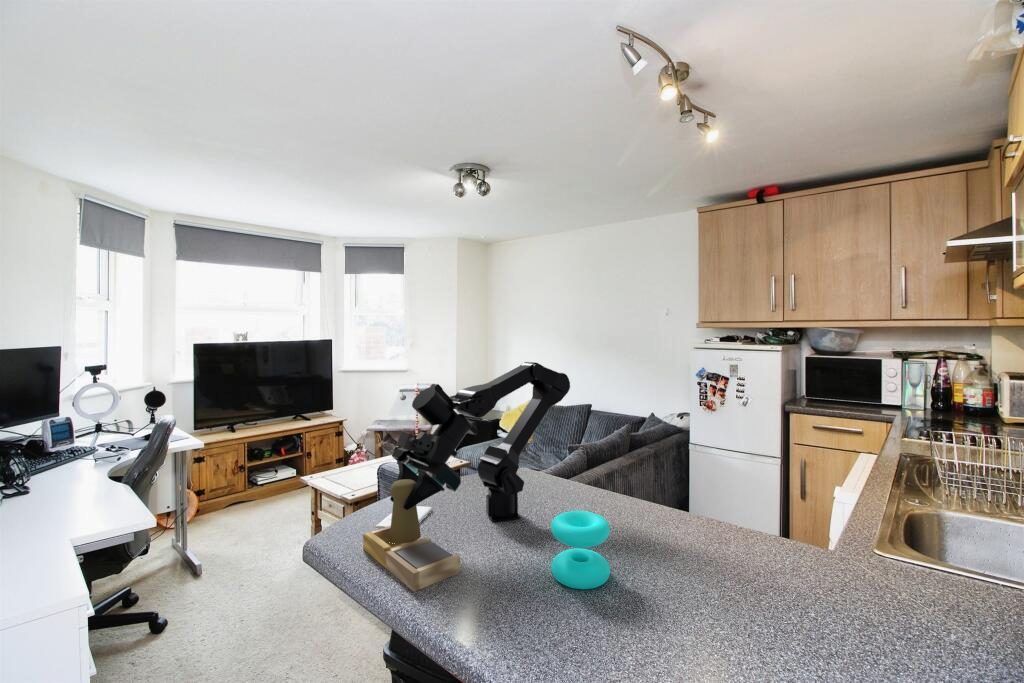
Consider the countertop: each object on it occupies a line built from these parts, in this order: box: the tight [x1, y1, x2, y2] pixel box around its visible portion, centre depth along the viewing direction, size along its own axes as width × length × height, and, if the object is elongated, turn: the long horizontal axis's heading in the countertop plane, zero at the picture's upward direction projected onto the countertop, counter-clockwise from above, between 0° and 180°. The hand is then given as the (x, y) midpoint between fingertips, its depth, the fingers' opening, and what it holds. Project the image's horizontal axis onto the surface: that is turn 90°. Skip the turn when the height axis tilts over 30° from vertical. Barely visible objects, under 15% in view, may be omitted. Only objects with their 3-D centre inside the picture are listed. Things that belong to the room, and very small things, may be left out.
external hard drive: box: [374, 505, 433, 529], centre depth 106 cm, size 2×8×12 cm
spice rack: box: [362, 526, 461, 592], centre depth 87 cm, size 9×20×4 cm, turn 40°
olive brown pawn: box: [389, 479, 422, 544], centre depth 92 cm, size 6×6×11 cm
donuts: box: [550, 510, 611, 590], centre depth 80 cm, size 10×10×10 cm
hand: (398, 504), depth 91 cm, fingers closed on olive brown pawn, 5 cm apart
